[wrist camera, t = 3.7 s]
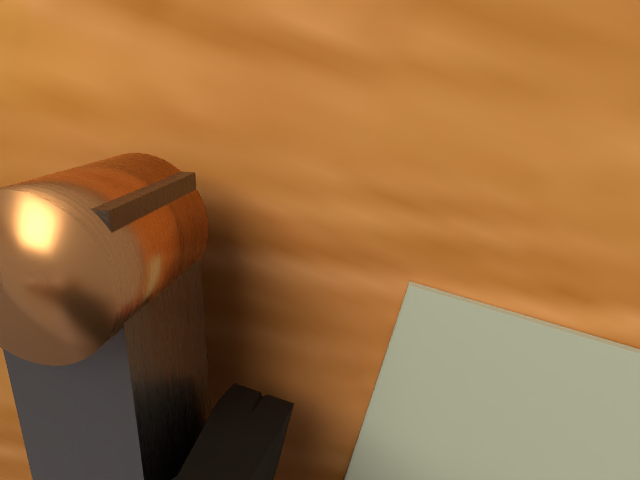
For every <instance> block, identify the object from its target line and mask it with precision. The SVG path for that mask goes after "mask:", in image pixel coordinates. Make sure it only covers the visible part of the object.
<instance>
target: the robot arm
mask: <svg viewBox="0 0 640 480" xmlns="http://www.w3.org/2000/svg"><path fill="white" fill-rule="evenodd" d="M293 405H294V403H291V402H288V401H285V400H282V399H279V398H276V397H273V396H270V395H266V396H262V394H261V392H258V391H256V390H253V389H250V388H247V387H244V386H241V385H238V384H235V383H234V384H233V385H232V386H231V387H230V388H229V389H228V391H227V392H226V393H225V394H224V395H223V396H222V398H221V399H220V400H219V401H218V403H217V404H216V406H215V408H214V410H213V411H212V413H211V415H210V417H209V419H208V420H207V422H206V424H205V426H204V428H203V430H202V431H201V433H200V435H199V437H198V439H197V441H196V442H195V444H194V446H193V448H192V450H191V452H190V453H189V455H188V457H187V459H186V461H185V463H184V464H183V466H182V468H181V470H180V472H179V474H178V475H177V476H176V477H175V478H173V479H172V480H273V478H274V475H275V473H276V469H277V465H278V461H279V458H280V454H281V450H282V446H283V442H284V439H285V435H286V431H287V427H288V424H289V420H290V416H291V412H292V409H293Z"/></svg>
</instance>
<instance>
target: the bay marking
mask: <svg viewBox="0 0 640 480" xmlns="http://www.w3.org/2000/svg"><path fill="white" fill-rule="evenodd" d="M344 480H640V349H637V348H633V347H630V346H627V345H623V344H620V343H617V342H613V341H610V340H606V339H603V338H600V337H596V336H593V335H590V334H586V333H583V332H579V331H576V330H573V329H569V328H566V327H563V326H559V325H556V324H552V323H549V322H546V321H542V320H539V319H536V318H532V317H529V316H525V315H522V314H519V313H515V312H512V311H509V310H505V309H502V308H498V307H495V306H492V305H488V304H485V303H482V302H478V301H475V300H471V299H468V298H465V297H461V296H458V295H455V294H451V293H448V292H444V291H441V290H438V289H434V288H431V287H428V286H424V285H421V284H417V283H414V282H411V281H409V284H408V287H407V290H406V293H405V296H404V299H403V302H402V305H401V308H400V311H399V314H398V317H397V321H396V324H395V327H394V330H393V333H392V336H391V339H390V342H389V345H388V348H387V351H386V354H385V357H384V360H383V363H382V366H381V369H380V372H379V375H378V378H377V381H376V384H375V387H374V390H373V393H372V396H371V399H370V402H369V405H368V409H367V412H366V415H365V418H364V421H363V424H362V427H361V430H360V433H359V436H358V439H357V442H356V445H355V448H354V451H353V454H352V457H351V460H350V463H349V466H348V469H347V472H346V475H345V478H344Z"/></svg>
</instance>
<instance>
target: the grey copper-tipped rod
mask: <svg viewBox="0 0 640 480" xmlns="http://www.w3.org/2000/svg"><path fill="white" fill-rule="evenodd" d="M207 241H208V218H207V214H206V210H205V207H204V204H203V201H202V199H201V197H200V195H199V193H198V191H197V190H196V180H195V173H193V172H181V171H180V170H179V169H177V168H176V167H175V166H173V165H172V164H170V163H168V162H167V161H165V160H163V159H160V158H158V157H156V156H152V155H148V154H142V153H128V154H122V155H118V156H115V157H111V158H108V159H104V160H100V161H97V162H93V163H90V164H86V165H82V166H79V167H75V168H72V169H68V170H64V171H61V172H57V173H54V174H50V175H46V176H43V177H39V178H36V179H32V180H28V181H25V182H21V183H18V184H14V185H10V186H7V187H3V188H0V347H1V348H3V351H4V355H5V360H6V364H7V368H8V373H9V377H10V382H11V386H12V390H13V395H14V399H15V404H16V408H17V412H18V417H19V421H20V426H21V430H22V434H23V439H24V443H25V448H26V452H27V456H28V461H29V465H30V470H31V474H32V478H33V480H172V479H173V478H175V477H176V476H177V475H178V474H179V472H180V470H181V468H182V466H183V464H184V463H185V461H186V459H187V457H188V455H189V453H190V452H191V450H192V448H193V446H194V444H195V442H196V441H197V439H198V437H199V435H200V433H201V431H202V430H203V428H204V426H205V424H206V422H207V420H208V419H209V417H210V415H211V400H210V386H209V371H208V356H207V342H206V327H205V312H204V298H203V283H202V268H201V258H202V256H203V254H204V252H205V249H206V245H207Z"/></svg>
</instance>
